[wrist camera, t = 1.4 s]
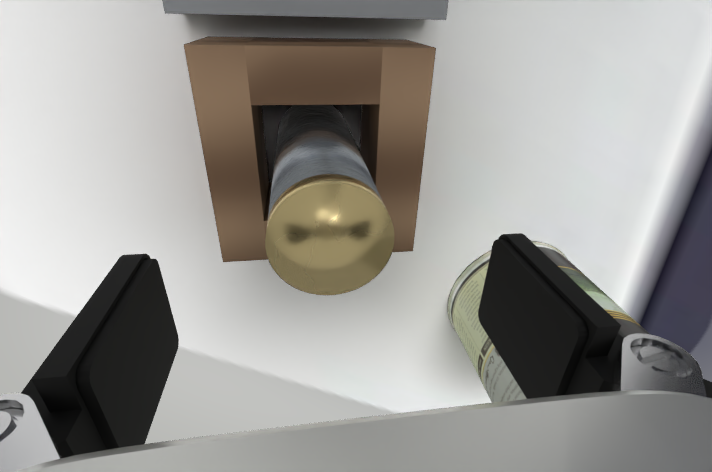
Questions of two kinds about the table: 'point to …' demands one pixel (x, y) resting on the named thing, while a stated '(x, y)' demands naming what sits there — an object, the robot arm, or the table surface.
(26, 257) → the table surface
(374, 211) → the steel pin
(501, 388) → the coffee can
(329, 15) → the tray
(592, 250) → the table surface
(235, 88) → the block
